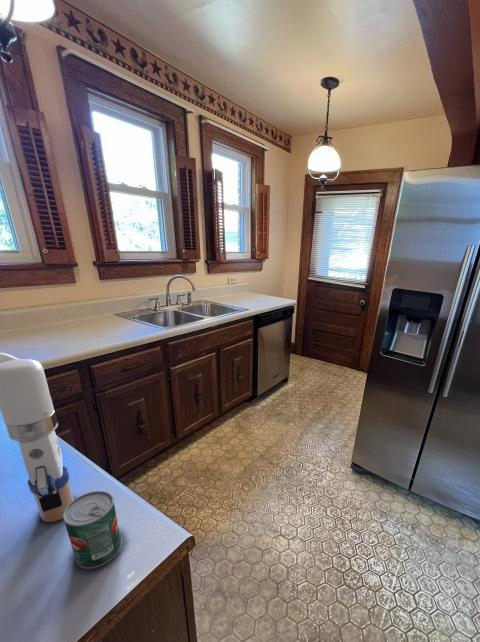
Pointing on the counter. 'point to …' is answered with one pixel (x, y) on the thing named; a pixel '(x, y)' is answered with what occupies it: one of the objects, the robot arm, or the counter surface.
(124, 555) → the counter surface
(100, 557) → the canned tomato
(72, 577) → the counter surface
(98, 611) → the counter surface
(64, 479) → the jar lid
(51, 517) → the jam jar
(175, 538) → the counter surface
